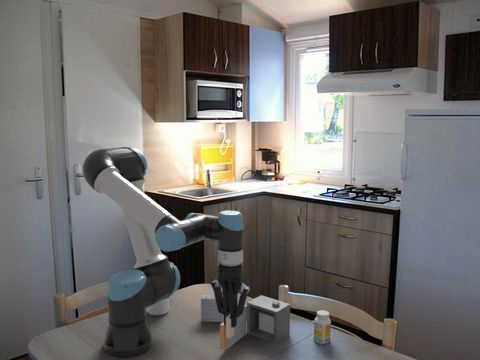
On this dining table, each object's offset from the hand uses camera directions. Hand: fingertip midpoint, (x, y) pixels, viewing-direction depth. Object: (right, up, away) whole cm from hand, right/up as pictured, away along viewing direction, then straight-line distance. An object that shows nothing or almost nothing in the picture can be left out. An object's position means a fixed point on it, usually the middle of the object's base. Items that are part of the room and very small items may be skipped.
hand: (230, 335), depth 146 cm
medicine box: (-7, -3, +25) cm, 26 cm away
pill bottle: (-28, -1, +31) cm, 42 cm away
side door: (+1, -5, +7) cm, 9 cm away
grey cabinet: (+13, -4, +14) cm, 19 cm away
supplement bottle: (+30, -5, +10) cm, 32 cm away
